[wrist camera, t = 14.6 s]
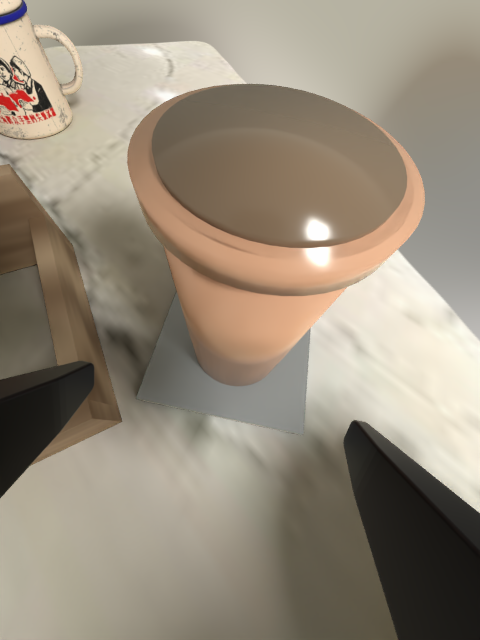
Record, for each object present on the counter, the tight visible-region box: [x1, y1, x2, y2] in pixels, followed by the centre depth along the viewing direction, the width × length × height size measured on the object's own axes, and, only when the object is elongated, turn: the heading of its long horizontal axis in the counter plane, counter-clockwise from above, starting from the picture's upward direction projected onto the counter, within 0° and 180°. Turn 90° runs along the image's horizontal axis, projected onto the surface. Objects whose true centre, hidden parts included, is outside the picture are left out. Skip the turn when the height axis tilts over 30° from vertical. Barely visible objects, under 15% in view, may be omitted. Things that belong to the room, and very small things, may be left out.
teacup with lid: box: [0, 0, 83, 139], centre depth 23 cm, size 12×9×12 cm
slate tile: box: [136, 291, 311, 435], centre depth 18 cm, size 11×11×1 cm
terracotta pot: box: [127, 84, 425, 386], centre depth 11 cm, size 7×7×13 cm
